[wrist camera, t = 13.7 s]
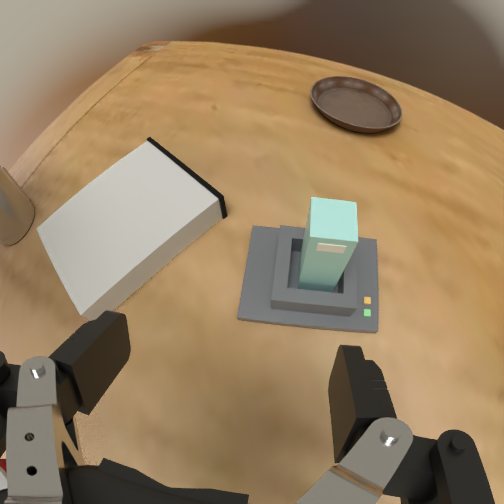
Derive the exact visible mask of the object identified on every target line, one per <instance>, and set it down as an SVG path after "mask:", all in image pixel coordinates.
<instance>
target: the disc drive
mask: <svg viewBox="0 0 504 504" xmlns="http://www.w3.org/2000/svg"><path fill="white" fill-rule="evenodd" d="M226 217H227V212H226V207H225V201H224V196H223V195H222V194H221V193H219V192H218V191H217V190H216V189H214V188H213V187H212V186H211V185H210V184H208V183H207V182H206V181H205V180H203V179H202V178H201V177H200V176H198V175H197V174H196V173H195V172H193V171H192V170H191V169H190V168H188V167H187V166H186V165H185V164H183V163H182V162H181V161H180V160H178V159H177V158H176V157H175V156H173V155H172V154H171V153H170V152H168V151H167V150H166V149H165V148H163V147H162V146H161V145H160V144H158V143H157V142H156V141H155V140H153V139H152V138H151V137H149V138H147V141H146V142H145V143H143V144H142V145H141V146H139V147H138V148H136V149H135V150H133V151H132V152H130V153H129V154H128V155H126V156H125V157H123V158H122V159H121V160H119V161H118V162H116V163H115V164H114V165H112V166H111V167H110V168H108V169H107V170H106V171H104V172H103V173H102V174H100V175H99V176H98V177H97V178H95V179H94V180H93V181H91V182H90V183H89V184H88V185H86V186H85V187H84V188H83V189H81V190H80V191H79V192H78V193H77V194H75V195H74V196H73V197H72V198H71V199H69V200H68V201H67V202H66V203H65V204H63V205H62V206H61V207H60V208H59V209H58V210H57V211H55V212H54V213H53V214H52V215H51V216H50V217H49V218H48V219H46V220H45V221H44V222H43V223H42V224H41V225H40V226H39V227H38V228H37V231H38V234H39V236H40V238H41V241H42V243H43V245H44V247H45V249H46V251H47V253H48V256H49V258H50V260H51V262H52V264H53V266H54V268H55V270H56V272H57V274H58V276H59V278H60V280H61V281H62V283H63V285H64V287H65V289H66V291H67V293H68V294H69V296H70V298H71V300H72V302H73V303H74V305H75V307H76V309H77V310H78V312H79V314H80V315H81V316H82V317H84V318H86V319H87V320H89V321H92V320H96V319H97V318H98V317H99V316H100V315H101V314H102V313H103V312H104V311H106V310H109V311H114V310H115V309H116V308H117V307H118V306H119V305H120V304H121V303H123V302H124V301H125V300H126V299H127V298H128V297H129V296H131V295H132V294H133V293H134V292H135V291H136V290H137V289H139V288H140V287H141V286H142V285H143V284H144V283H145V282H147V281H148V280H149V279H150V278H151V277H152V276H154V275H155V274H156V273H157V272H158V271H159V270H161V269H162V268H163V267H164V266H165V265H166V264H168V263H169V262H170V261H171V260H172V259H174V258H175V257H176V256H177V255H178V254H179V253H181V252H182V251H183V250H184V249H185V248H187V247H188V246H189V245H190V244H191V243H193V242H194V241H195V240H196V239H198V238H199V237H200V236H201V235H202V234H204V233H205V232H206V231H207V230H209V229H210V228H211V227H212V226H213V225H215V224H216V223H217V222H218V221H220V220H221V219H222V218H223V219H224V218H226Z"/></svg>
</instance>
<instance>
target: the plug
mask: <svg viewBox="0 0 504 504" xmlns="http://www.w3.org/2000/svg"><path fill="white" fill-rule="evenodd" d="M357 243H358V224H357V207H356V202H351V201H342V200H334V199H325V198H317V197H311V202H310V207H309V213H308V218H307V223H306V228H305V233H304V239H303V244H302V248H301V253H300V258H299V269H298V282H297V289H303V290H312V291H322V292H333V290H334V288H335V286H336V284H337V282H338V280H339V279H340V277H341V275H342V273H343V271H344V269H345V267H346V265H347V263H348V261H349V259H350V257H351V255H352V253H353V251H354V249H355V247H356V245H357Z"/></svg>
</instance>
